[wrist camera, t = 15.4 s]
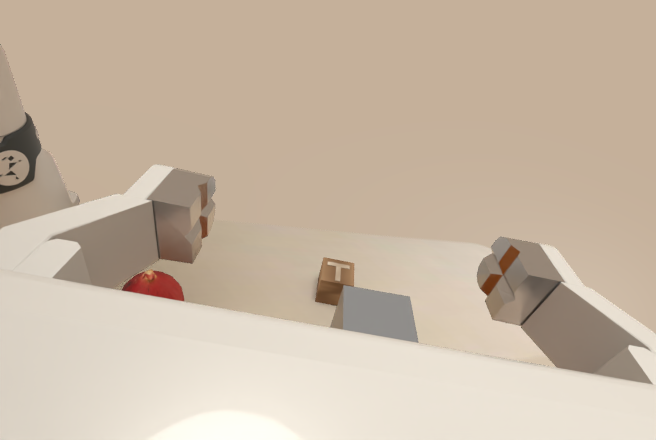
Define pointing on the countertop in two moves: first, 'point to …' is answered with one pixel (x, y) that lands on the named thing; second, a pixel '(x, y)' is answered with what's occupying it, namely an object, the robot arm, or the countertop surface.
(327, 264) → the letter block
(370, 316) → the grey block
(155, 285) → the pomegranate
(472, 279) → the countertop surface
